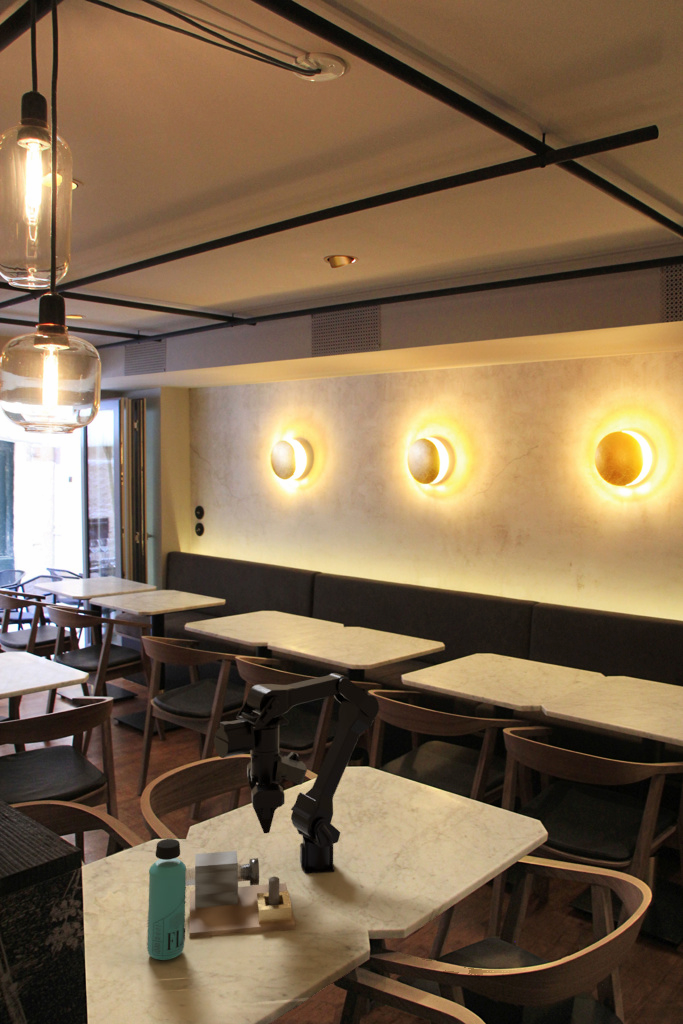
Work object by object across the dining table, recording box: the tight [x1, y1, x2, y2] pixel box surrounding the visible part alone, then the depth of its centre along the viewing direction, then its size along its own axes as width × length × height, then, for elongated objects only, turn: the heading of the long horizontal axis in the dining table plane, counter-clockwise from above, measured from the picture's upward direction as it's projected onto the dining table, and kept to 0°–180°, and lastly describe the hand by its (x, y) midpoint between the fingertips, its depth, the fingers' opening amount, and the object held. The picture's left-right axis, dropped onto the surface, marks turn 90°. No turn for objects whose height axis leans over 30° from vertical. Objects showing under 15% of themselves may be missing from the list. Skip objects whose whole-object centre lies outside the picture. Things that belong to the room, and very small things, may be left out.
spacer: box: [257, 890, 293, 924], centre depth 148 cm, size 6×6×2 cm
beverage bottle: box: [145, 838, 187, 961], centre depth 136 cm, size 6×7×20 cm
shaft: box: [185, 857, 260, 887], centre depth 153 cm, size 15×5×5 cm, turn 100°
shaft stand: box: [188, 850, 296, 938], centre depth 151 cm, size 19×15×9 cm
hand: (264, 823), depth 163 cm, fingers open, 9 cm apart
